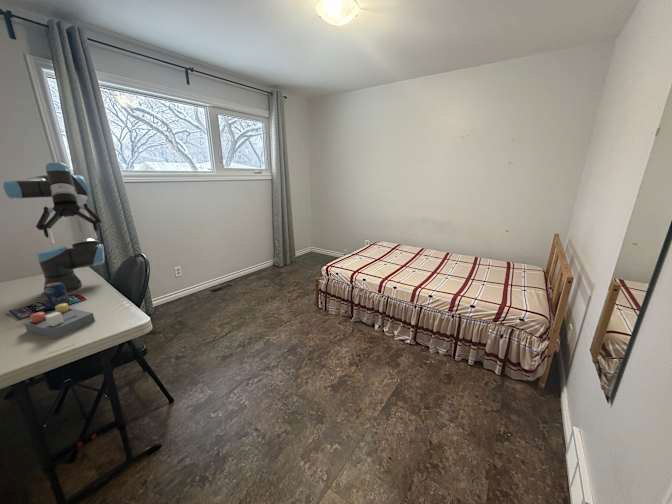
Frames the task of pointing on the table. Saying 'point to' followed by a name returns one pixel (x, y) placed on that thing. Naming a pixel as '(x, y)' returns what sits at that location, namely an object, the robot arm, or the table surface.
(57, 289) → the soda can
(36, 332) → the panel
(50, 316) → the slider
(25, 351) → the table surface
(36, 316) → the button red
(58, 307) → the button ochre
